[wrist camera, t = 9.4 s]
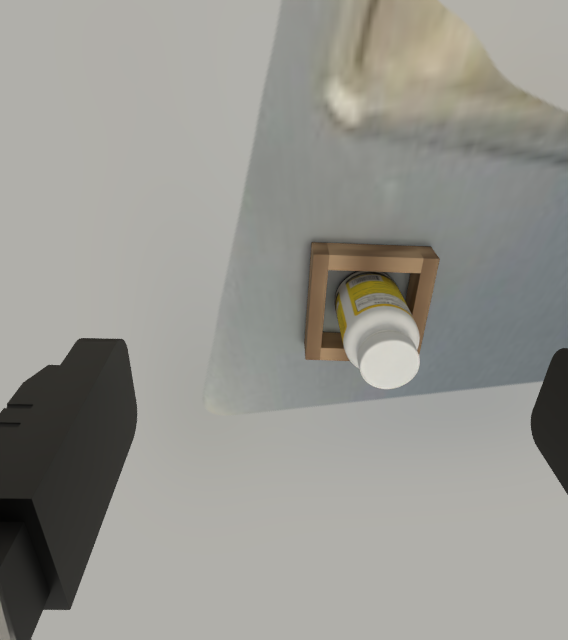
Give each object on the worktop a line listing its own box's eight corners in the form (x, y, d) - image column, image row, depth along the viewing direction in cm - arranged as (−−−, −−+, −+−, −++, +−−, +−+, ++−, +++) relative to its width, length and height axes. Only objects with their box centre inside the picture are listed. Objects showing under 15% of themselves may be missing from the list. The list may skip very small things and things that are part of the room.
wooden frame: (430, 246, 38) (439, 258, 36) (410, 346, 43) (417, 363, 40) (311, 242, 38) (313, 254, 35) (304, 343, 42) (305, 359, 40)
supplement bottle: (370, 336, 42) (391, 410, 34) (321, 304, 40) (331, 373, 32) (413, 291, 40) (448, 358, 31) (363, 255, 38) (385, 315, 30)
